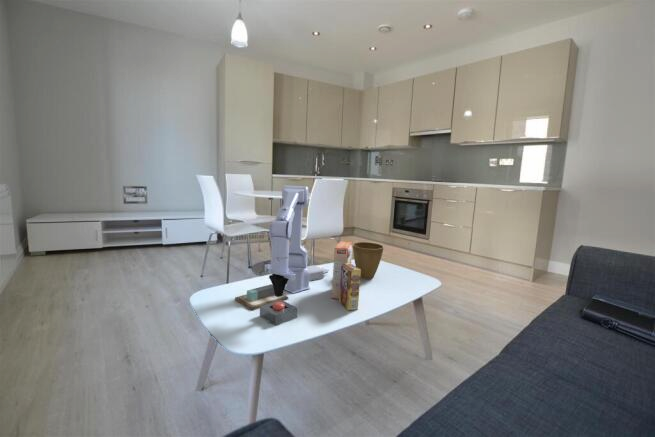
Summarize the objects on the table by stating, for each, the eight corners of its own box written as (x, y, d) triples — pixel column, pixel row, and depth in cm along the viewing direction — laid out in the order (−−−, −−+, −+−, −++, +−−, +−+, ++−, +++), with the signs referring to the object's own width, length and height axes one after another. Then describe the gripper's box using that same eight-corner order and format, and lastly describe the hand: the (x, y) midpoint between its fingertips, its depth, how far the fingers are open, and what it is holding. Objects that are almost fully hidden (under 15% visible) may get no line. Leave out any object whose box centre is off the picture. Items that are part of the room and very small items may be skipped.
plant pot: (348, 279, 149) (349, 246, 146) (354, 270, 163) (356, 240, 161) (379, 283, 144) (381, 250, 142) (383, 274, 158) (385, 243, 156)
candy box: (359, 309, 115) (361, 269, 113) (348, 310, 113) (350, 270, 111) (348, 300, 123) (350, 262, 121) (338, 301, 122) (340, 263, 120)
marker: (273, 291, 126) (273, 283, 125) (278, 293, 123) (278, 285, 123) (246, 298, 117) (246, 290, 117) (251, 301, 115) (251, 293, 114)
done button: (279, 307, 109) (279, 300, 108) (286, 310, 106) (287, 304, 106) (270, 310, 106) (270, 303, 105) (277, 314, 103) (277, 307, 103)
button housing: (281, 309, 112) (281, 299, 112) (297, 317, 106) (297, 307, 106) (259, 316, 106) (259, 306, 106) (275, 325, 100) (275, 315, 99)
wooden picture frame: (270, 290, 130) (270, 287, 130) (288, 299, 122) (288, 296, 121) (234, 300, 118) (234, 296, 118) (252, 310, 110) (252, 306, 110)
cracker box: (346, 300, 123) (348, 248, 120) (331, 298, 124) (333, 247, 121) (350, 288, 136) (353, 241, 134) (337, 287, 138) (339, 240, 135)
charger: (333, 277, 152) (307, 282, 143) (322, 272, 159) (297, 276, 150) (333, 267, 151) (308, 272, 142) (322, 263, 158) (297, 267, 149)
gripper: (257, 253, 106) (256, 292, 107) (283, 263, 95) (282, 305, 97) (274, 250, 111) (273, 287, 112) (301, 259, 100) (299, 300, 102)
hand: (278, 295), depth 105 cm, fingers closed
